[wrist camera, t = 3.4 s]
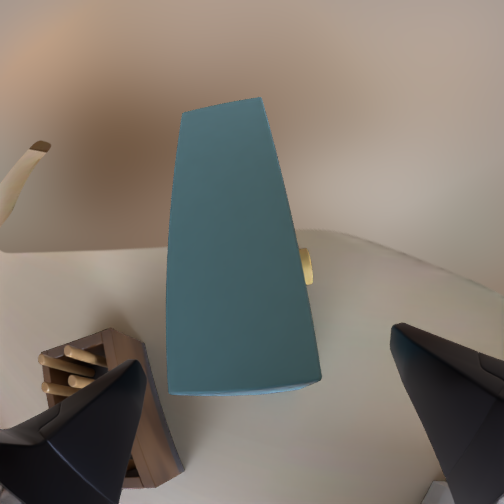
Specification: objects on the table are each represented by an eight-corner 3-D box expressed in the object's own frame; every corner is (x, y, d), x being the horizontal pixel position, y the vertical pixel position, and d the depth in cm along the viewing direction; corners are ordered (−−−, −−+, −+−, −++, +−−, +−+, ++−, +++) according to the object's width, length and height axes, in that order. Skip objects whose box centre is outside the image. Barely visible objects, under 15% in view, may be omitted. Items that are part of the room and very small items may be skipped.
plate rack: (185, 471, 14) (138, 496, 8) (107, 477, 14) (51, 491, 8) (144, 342, 19) (91, 317, 13) (77, 363, 19) (21, 344, 13)
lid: (321, 385, 16) (402, 360, 4) (259, 394, 16) (166, 394, 4) (302, 273, 20) (304, 91, 8) (247, 281, 20) (181, 112, 8)
